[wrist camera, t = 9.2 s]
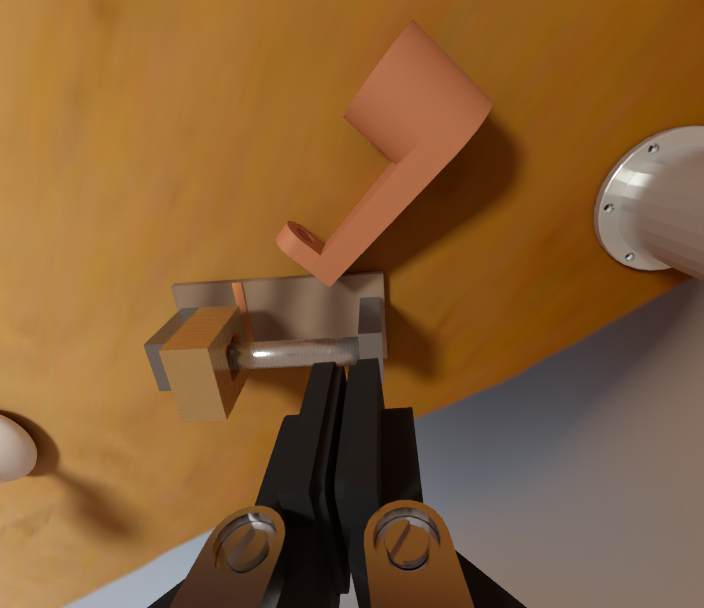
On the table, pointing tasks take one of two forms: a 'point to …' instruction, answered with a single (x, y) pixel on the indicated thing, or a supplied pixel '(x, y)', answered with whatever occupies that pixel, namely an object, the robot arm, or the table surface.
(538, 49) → the table surface
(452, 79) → the crank
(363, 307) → the pipe rail
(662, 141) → the robot arm
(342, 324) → the base board
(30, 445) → the flower in vase
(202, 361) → the collar
